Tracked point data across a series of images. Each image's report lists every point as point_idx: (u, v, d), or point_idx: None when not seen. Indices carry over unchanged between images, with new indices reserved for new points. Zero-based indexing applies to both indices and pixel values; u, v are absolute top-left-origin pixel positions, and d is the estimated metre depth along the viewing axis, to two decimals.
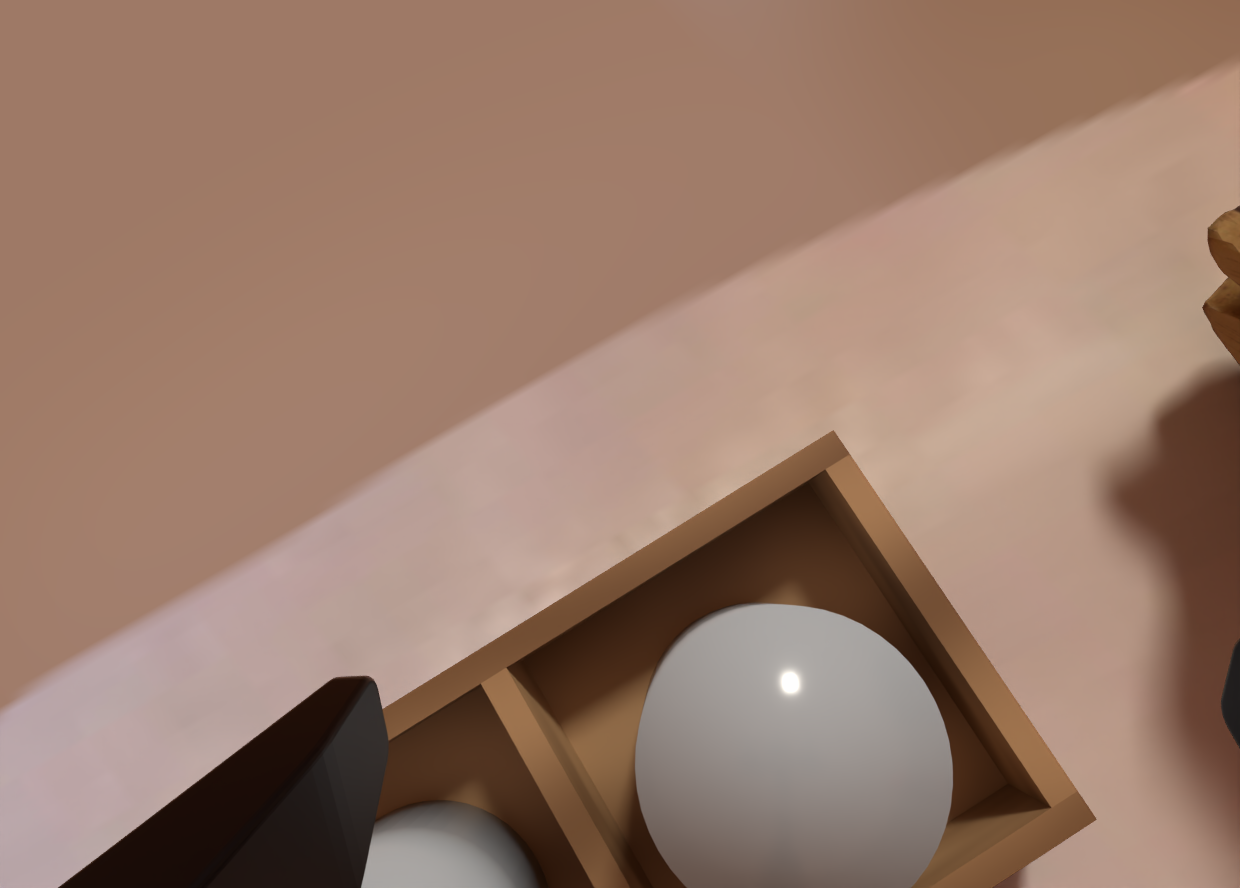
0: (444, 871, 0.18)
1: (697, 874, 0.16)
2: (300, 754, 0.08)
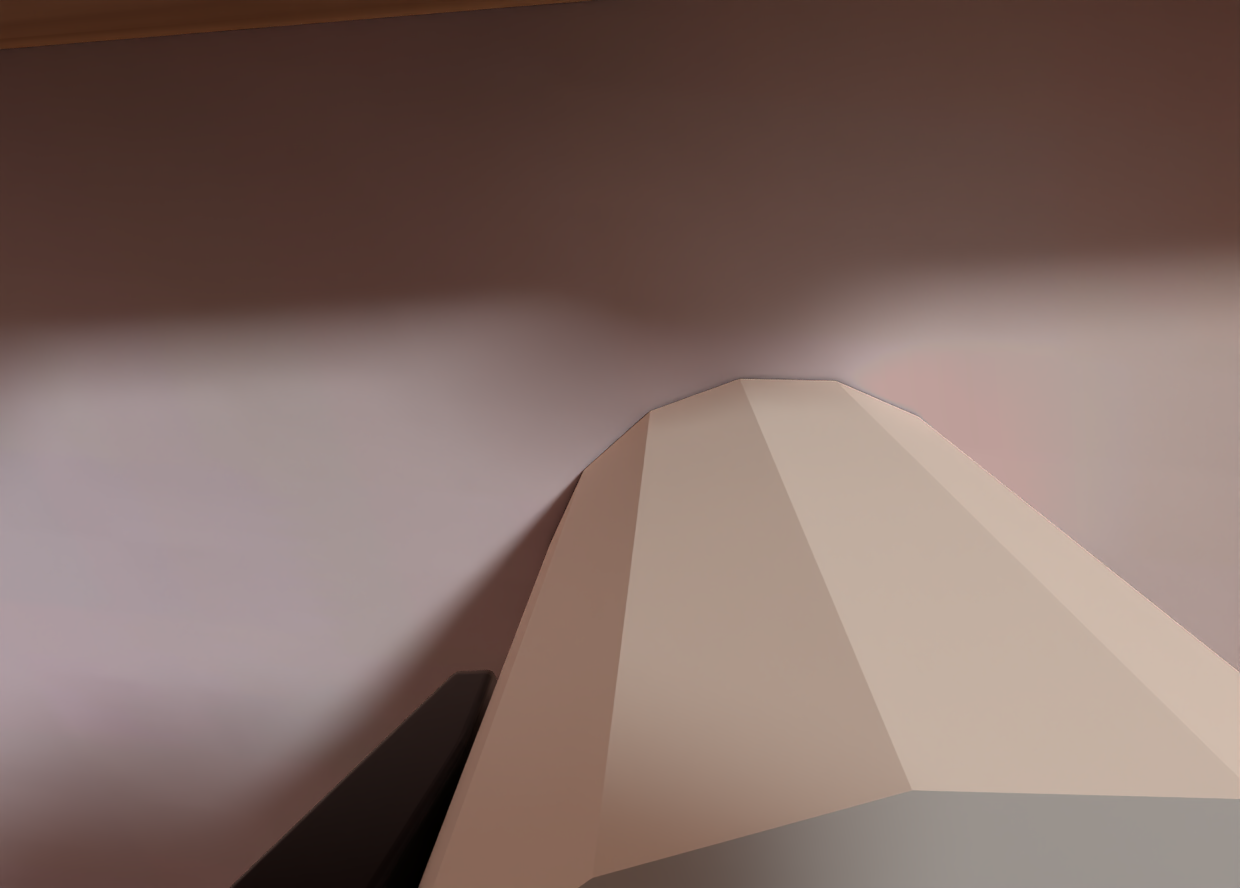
0: None
1: None
2: (445, 747, 0.07)
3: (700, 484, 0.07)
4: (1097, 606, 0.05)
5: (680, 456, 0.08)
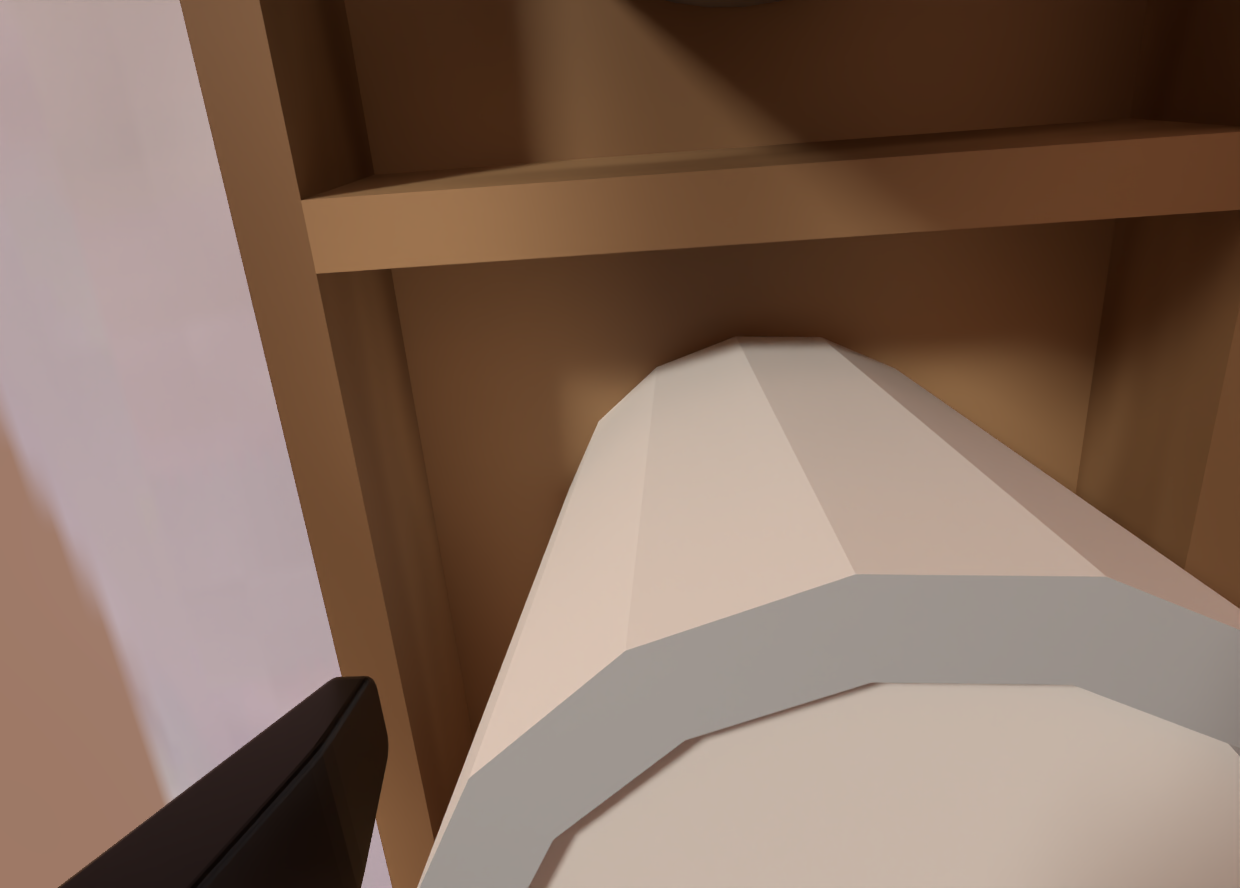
0: None
1: None
2: (299, 754, 0.08)
3: (701, 414, 0.09)
4: (1019, 483, 0.06)
5: (684, 396, 0.09)
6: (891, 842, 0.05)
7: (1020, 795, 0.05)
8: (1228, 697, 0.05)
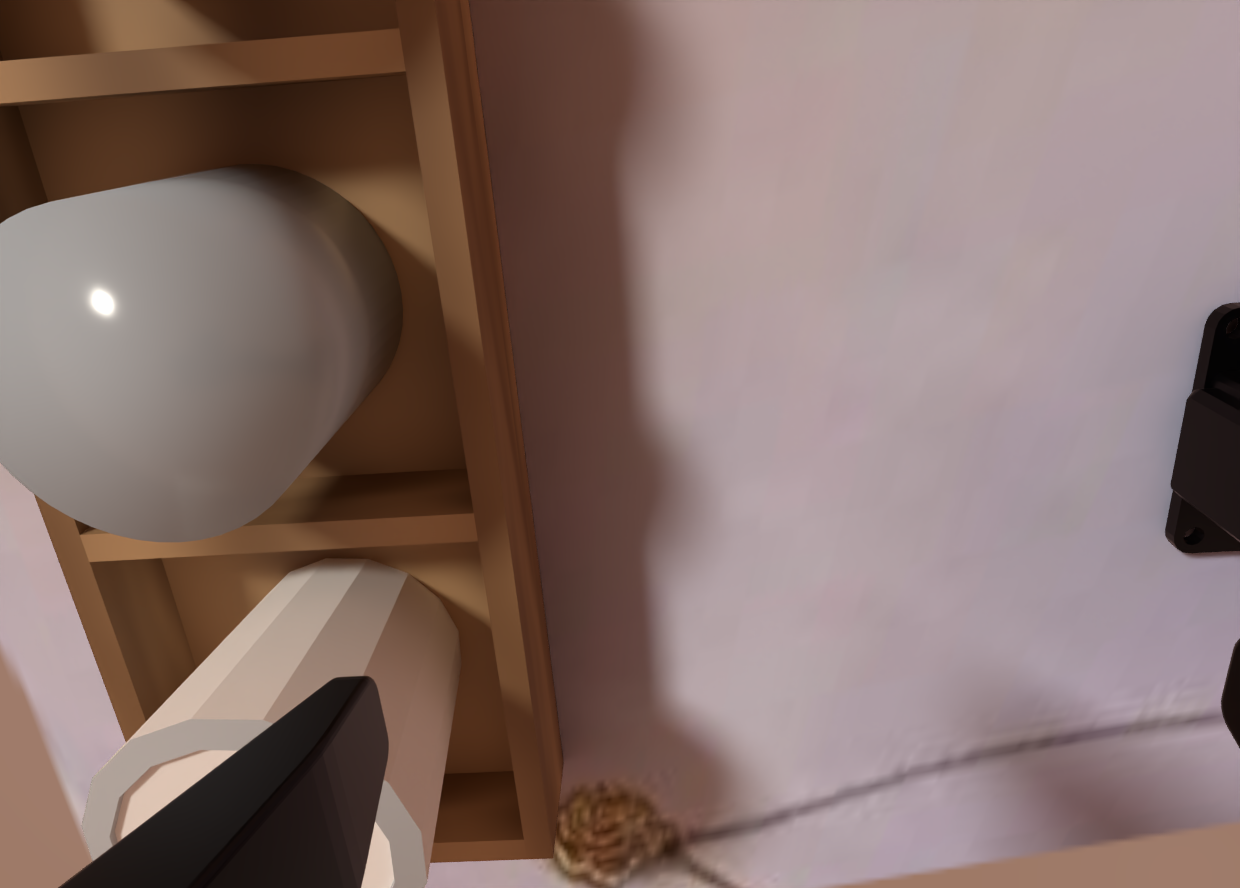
0: None
1: None
2: (300, 754, 0.08)
3: (256, 621, 0.20)
4: (316, 672, 0.18)
5: (267, 604, 0.21)
6: None
7: None
8: None
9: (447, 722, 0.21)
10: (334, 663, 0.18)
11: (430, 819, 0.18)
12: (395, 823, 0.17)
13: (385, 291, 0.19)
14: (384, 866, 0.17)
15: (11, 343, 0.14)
